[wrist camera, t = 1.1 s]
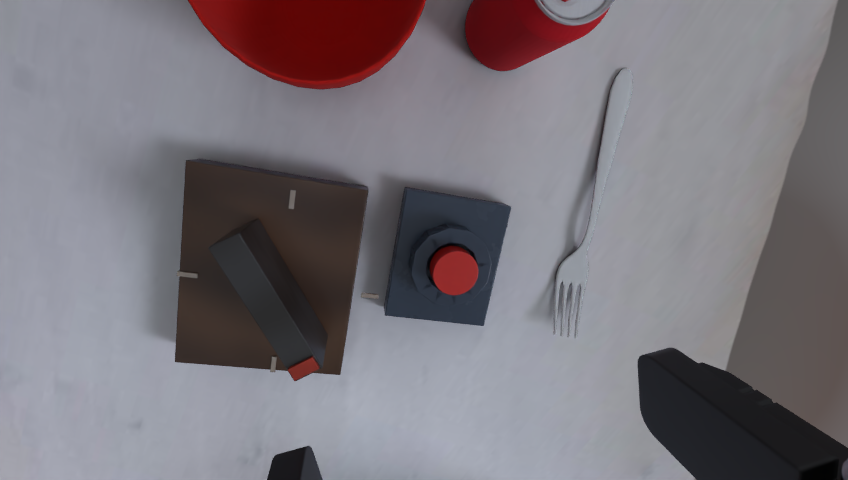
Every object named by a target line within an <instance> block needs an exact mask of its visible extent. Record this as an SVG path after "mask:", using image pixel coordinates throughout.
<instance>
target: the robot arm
mask: <svg viewBox="0 0 848 480" xmlns="http://www.w3.org/2000/svg"><path fill="white" fill-rule="evenodd" d="M638 379H639V396H640V410H641V414H642V417H643V419H644V422H645V424H646V426H647V427H648V429H649V430H650V432H651V433H652V434H653V436H654V437H655V438H656V439H657V440H658V441H659V442H660V443H661V444H662V445H663V446H664V447H665V448H666V449H667V450H668V451H669V452H670V453H671V454H672V455H673V456H674V457H675V458H676V459H677V460H678V461H679V462H680V463H681V464H682V465H683V466H684V467H685V468H686V469H687V470H688V471H689V472H690V473H691V474H692V475H693V476H694V477H695V478H696V479H697V480H848V448H847V447H845V446H844V445H842V444H841V443H839V442H837V441H836V440H834V439H833V438H831V437H830V436H828V435H826V434H825V433H823V432H822V431H820V430H819V429H817V428H816V427H814V426H812V425H811V424H809V423H808V422H806V421H805V420H803V419H801V418H800V417H798V416H797V415H795V414H794V413H792V412H790V411H789V410H787V409H786V408H784V407H783V406H781V405H779V404H778V403H773V402H772V400H771V399H770V398H769V397H767V396H765V395H764V394H762V393H761V392H759V391H758V390H755V391H754V390H753V389H752V387H751V386H749V385H748V384H747V383H745V382H743V381H742V380H740V379H738V378H737V377H736V376H734V375H732V374H731V373H729V372H727V371H724V370H721V369H718V368H716V367H713V366H710V365H708V364H705V363H699V364H698V363H696V362H695V361H693V360H692V359H690V358H689V357H687V356H686V355H685V354H683V353H682V352H680V351H679V350H677V349H675V348H666V349H663V350H659V351H656V352H652V353H648V354H645V355H642V356H640V357H639V359H638ZM267 480H322V477H321V474H320V471H319V468H318V465H317V462H316V459H315V456H314V453H313V450H312V448H311V447H310V446H306V447H303V448H299V449H295V450H292V451H288V452H284V453H281V454H277V455H275V456H274V458H273V460H272V464H271V467H270V471H269V474H268V478H267Z"/></svg>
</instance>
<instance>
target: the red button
mask: <svg viewBox="0 0 848 480" xmlns="http://www.w3.org/2000/svg"><path fill="white" fill-rule="evenodd" d="M430 274H431V277H432V279H433V281H434V283H435V285H436V286H437V287H438V289H439V290H440V291H442V292H443V293H446V294H448V295H460V294H463V293H465V292H467V291H468V290H470V289H471V288H472V287H473V285H474V284H475V282H476V280H477V277H478V266H477V263H476V261H475V260H474V258H473V257H472V256H471V255H470V254H469V253H468V252H467V251H466V250H465V249H463V248H461V247H459V246H446V247H444V248H442V249H440V250H438V251H437V252H436V253H435V254H434V256H433V257H432V259H431V262H430Z"/></svg>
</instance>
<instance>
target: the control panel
mask: <svg viewBox="0 0 848 480" xmlns="http://www.w3.org/2000/svg"><path fill="white" fill-rule="evenodd" d="M367 197H368V187H366V186H360V185H354V184H348V183H342V182H336V181H330V180H324V179H318V178H312V177H306V176H300V175H294V174H288V173H282V172H276V171H270V170H264V169H258V168H252V167H246V166H240V165H234V164H228V163H222V162H216V161H210V160H204V159H194V160H186V168H185V187H184V205H183V223H182V242H181V260H180V271H177V276H180V278H179V297H178V315H177V334H176V352H175V362H181V363H194V364H207V365H220V366H233V367H245V368H258V369H271V370H270V372H275V370H284V371H288V370H287V369H286V367H285V366H284V364H283V362H282V361H281V359H280V358H279V356H278V355H277V353H276V352H275V350H274V349H273V347H272V346H271V344H270V342H269V341H268V339H267V338H266V336H265V335H264V333H263V332H262V330H261V329H260V327H259V326H258V324H257V322H256V321H255V319H254V318H253V316H252V315H251V313H250V312H249V310H248V309H247V307H246V306H245V304H244V303H243V301H242V299H241V298H240V296H239V295H238V293H237V292H236V290H235V289H234V287H233V286H232V284H231V283H230V281H229V279H228V278H227V276H226V275H225V273H224V272H223V270H222V269H221V267H220V266H219V264H218V263H217V261H216V259H215V258H214V256H213V255H212V253H211V252H210V250H209V249H208V247H209V246H211V245H212V244H214V243H215V242H216V241H218V240H219V239H221V238H222V237H224V236H225V235H226V234H228V233H229V232H231V231H232V230H234V229H236V228H238V227H240V226H242V225H245V224H247V223H249V222H251V221H253V220H255V219H257V218H258V219H259V220H260V222H261V223H262V225H263V227H264V228H265V230H266V232H267V233H268V235H269V237H270V238H271V240H272V242H273V244H274V245H275V247H276V249H277V250H278V252H279V254H280V255H281V257H282V259H283V260H284V262H285V264H286V265H287V267H288V269H289V270H290V272H291V274H292V275H293V277H294V279H295V280H296V282H297V284H298V286H299V287H300V289H301V291H302V292H303V294H304V296H305V297H306V299H307V301H308V302H309V304H310V306H311V307H312V309H313V311H314V312H315V314H316V316H317V317H318V319H319V321H320V322H321V324H322V326H323V328H324V329H325V331H326V333H327V334H328V338H327V344H326V350H325V356H324V362H323V367H322V368H321V369H319V370H317V371H315V372H313V373H323V374H335V375H340V373H341V367H342V360H343V353H344V347H345V340H346V334H347V327H348V321H349V314H350V308H351V301H352V295H353V288H354V282H355V275H356V269H357V262H358V256H359V249H360V243H361V236H362V230H363V223H364V216H365V210H366V203H367ZM361 297H365V298H374V299H378V297H379V294H371V293H361Z"/></svg>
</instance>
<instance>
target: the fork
mask: <svg viewBox="0 0 848 480" xmlns="http://www.w3.org/2000/svg"><path fill="white" fill-rule="evenodd" d="M632 89H633V74H632V73H631V71H630V70H629V69H626V68H624V69H622V70H621V71H620V72H619V74H618V75H617V76H616V78H615V80H614V82H613V85H612V87H611V90H610V95H609V100H608V105H607V111H606V117H605V123H604V129H603V134H602V140H601V146H600V152H599V157H598V164H597V171H596V179H595V186H594V193H593V200H592V206H591V212H590V218H589V222H588V227H587V231H586V234H585V237H584V239H583V241H582V243H581V245H580V246H579V247H578V248H577V250H576V251H574V252H573V253H572V254H571V255H570V256H568V257H567V258H566V259H565V260H564V261H563V262H562V263H561V265H560V266H559V268H558V271H557V275H556V283H555V297H554V335H556V326H557V314H558V298H559V289H560V284H561V283H562V282H563V298H562V311H561V336H563V329H564V320H565V309H566V299H567V292H568V287H569V285H570V284H571V283H572V291H571V300H570V310H569V319H568V337H570V332H571V324H572V316H573V309H574V301H575V295H576V291H577V287H578V286H579V284H580V294H579V300H578V308H577V315H576V322H575V338H577V333H578V326H579V319H580V313H581V307H582V301H583V295H584V291H585V287H586V282H587V278H588V271H589V270H588V260H587V251H588V247H589V245H590V242H591V239H592V235H593V232H594V228H595V224H596V220H597V215H598V211H599V207H600V202H601V199H602V195H603V191H604V188H605V184H606V180H607V177H608V174H609V170H610V167H611V164H612V160H613V156H614V153H615V149H616V146H617V142H618V139H619V136H620V132H621V129H622V126H623V122H624V119H625V116H626V113H627V109H628V106H629V102H630V98H631V95H632Z"/></svg>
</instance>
